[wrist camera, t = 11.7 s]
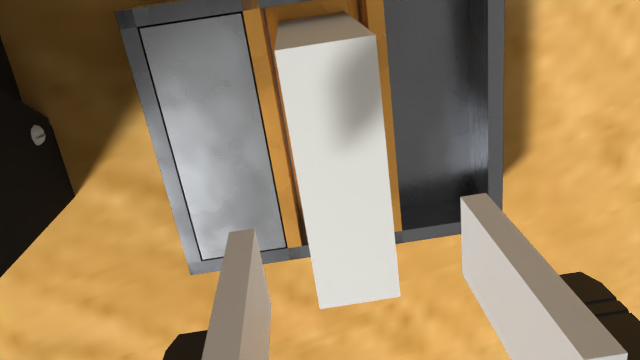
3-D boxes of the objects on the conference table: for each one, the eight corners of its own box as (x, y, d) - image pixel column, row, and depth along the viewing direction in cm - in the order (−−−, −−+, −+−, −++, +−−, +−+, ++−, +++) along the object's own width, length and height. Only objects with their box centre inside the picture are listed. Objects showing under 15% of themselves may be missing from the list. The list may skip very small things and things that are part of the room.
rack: (138, 5, 26) (114, 11, 23) (474, -46, 27) (504, -48, 23) (201, 240, 32) (190, 275, 29) (477, 198, 32) (502, 227, 29)
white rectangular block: (309, 206, 30) (320, 309, 21) (278, 21, 26) (274, 50, 17) (366, 197, 30) (400, 296, 21) (344, 11, 26) (375, 34, 17)
